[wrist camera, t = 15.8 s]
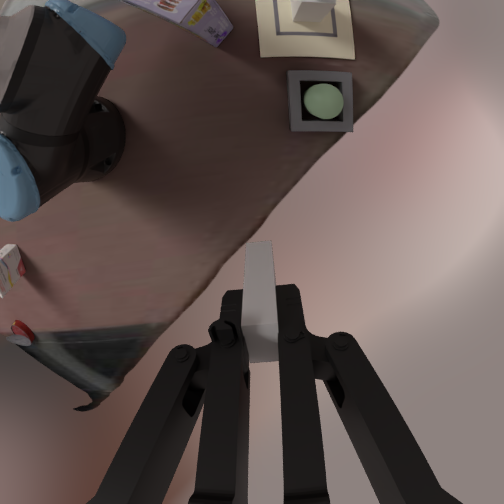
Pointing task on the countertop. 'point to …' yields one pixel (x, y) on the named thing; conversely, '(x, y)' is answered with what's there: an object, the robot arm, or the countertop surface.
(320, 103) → the button
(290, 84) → the button box
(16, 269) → the ink cartridge box
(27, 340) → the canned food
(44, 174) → the robot arm
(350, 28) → the cream square mat
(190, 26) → the cake pan box
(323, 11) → the teal capped white bottle
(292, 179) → the countertop surface
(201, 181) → the countertop surface
